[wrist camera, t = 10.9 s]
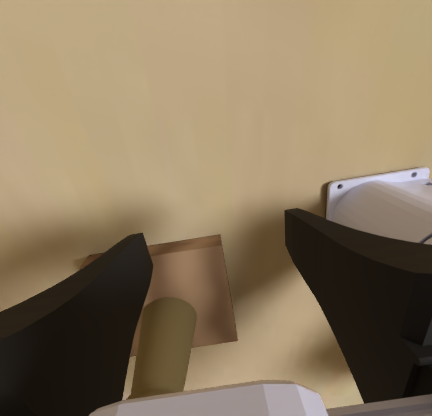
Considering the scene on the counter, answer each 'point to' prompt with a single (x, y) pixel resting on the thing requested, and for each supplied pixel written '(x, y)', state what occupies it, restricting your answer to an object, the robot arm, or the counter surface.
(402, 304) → the robot arm
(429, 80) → the counter surface
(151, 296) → the walnut stand
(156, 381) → the olive bottle
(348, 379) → the counter surface
